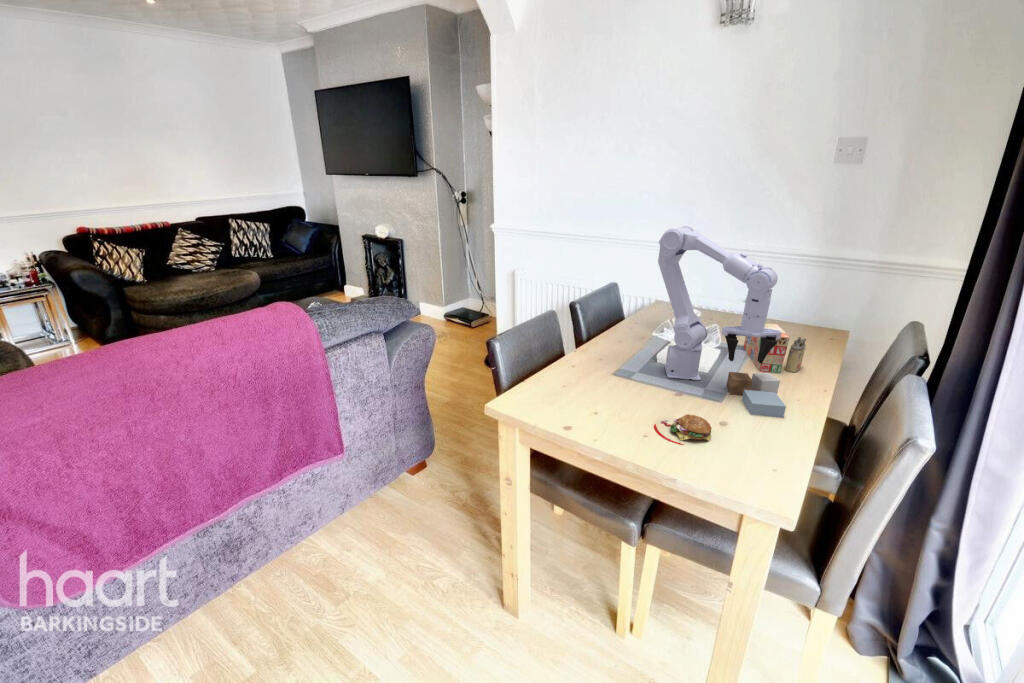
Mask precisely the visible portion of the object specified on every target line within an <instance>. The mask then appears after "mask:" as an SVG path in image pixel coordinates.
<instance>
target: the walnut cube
mask: <svg viewBox="0 0 1024 683" xmlns="http://www.w3.org/2000/svg"><path fill="white" fill-rule="evenodd" d="M725 384H726V385H725V388H726V387H727V388H726V390H727V389H728V390H727V392H728V395H730V396H734V397H735V396H737V397H742V396H743V392H744V390H751V386H752V377H751V376H750V375H749V373H747V372H736V371H728V375H727V379H726V383H725Z"/></svg>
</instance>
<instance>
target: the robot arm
mask: <svg viewBox="0 0 1024 683" xmlns="http://www.w3.org/2000/svg"><path fill="white" fill-rule="evenodd" d="M658 244H659V253H658V258H657V262H658V268H659V269H660V273H661V276H662V280H663V282H664V285H665V288H666V293H667V294H668V298H669V302H670V305H671V308H672V310H673V314H674V318H675V321H674V325H673V330H674V337H673V340H674V343H675V345H673V344H672V345H668V348H667V352H666V359H665V366H664V369H665V374H666V377H667V378H669V379H671V378H672V379H678V378H679V380H689V379H692V381H701V380H702V379H701V375H700V374H699V369H700V368H699V367H700V362H701V356H702V350H703V345H702V344H703V342H704V341H705V340H706V339H707V337H708V329H707V327H706V326H705V325H704V324H703V322H702V320H701V318H700V317H699V315H698V314H696V313H695V311H694V308H693V304H692V301H691V298H690V294H689V293H688V288H687V285H686V283H685V280H684V276H683V273H682V269H681V266H680V261H681V259H682V257H683V256H684V254H685V253H686V252H687V251H699V252H701V253H702V254H704V255H705V256H707V257H709V258H711V259H713V260H715V261H716V262H719V263H720V264H722V267H723V270H724V272H725V273H728V274H729V275H730V276H732V277H734V278H736V279H737V280H738V281H740V282H742V284H743V283H744V284H746V288H747V289H748V290H747V295H746V298H745V303H744V308H743V313H742V318H741V323H740V325H739V326H737V325H736V326H722V330H721V335H723V336H724V338H725V340H726V346H727V350H728V351H727V352H728V353H727V354H728V360H729V361H730V362H734V360H735V353H736V349H737V346H738V344H739V340H738V337H746V336H750V337H761V344H760V350H759V354H758V359H757V361H758V362H759V363H763V361H764V359H765V357H766V356H767V354H768V353H769V351H770V350H771V349H772V348H773V347H774V346H775V345H776V343H777V341H776V339H780V338H781V332H780V331H779V330H772V329H766V328H764V327H765V323H767V318H768V313H769V309H770V304H771V300H772V293H773V288H774V287H775V286H776V284H777V282H778V278H779V277H778V275H777V274H778V273H777V272H776V271H775V270H774V269H773V268H772V267H768V266H764V265H763V264H762V263H757V262H755V261H754V260H752V259H751V258H748V257H747V256H748V254H746V253H745V252H741V253H740V252H733V253H731V252H729V251H728V250H726V249H725V248H724V247H721V246H720V245H719V244H717V243H715V242H714V241H713V240H712V239H710V238H708V237H707V236H705V235H704V234H703V233H702V232H700V231H699V230H695V229H693V228H692V227H690V226H682V227H678V228H670V229H667V230H666V231H664V233H663V234H662V236H661V237H660V239H659V241H658Z"/></svg>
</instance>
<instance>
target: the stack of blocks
mask: <svg viewBox="0 0 1024 683" xmlns="http://www.w3.org/2000/svg"><path fill="white" fill-rule="evenodd" d="M764 328H766V329H772V330H779V331H780V332H781V338H780V339H776V341H777V343H776V345H775V346H774V347H773V348H772V349H771V350H770V351H769V353H768V354H767V356H766V357H765V359H764V361H763V363H759V362H758V361H757V359H758V354H759V350H760V344H761V337H750V336H744V337H745V338H744V343H743V348H744V350H745V352H746V353H747V355H748V356H749V358H750V359H751V361H752V362H753V363H754V365H755V367H756V369H757V370H758V372H759V373H770V374H773V373H774V374H781V372H782V369H783V366H784V360H785V356H786V355H787V354H786V353H787V351H788V344H789V341H790V336H789V335H788V334H787V332H786V331H784V329H783V328H781V327H780V326H779V324H777V323H767V322H766V323H765V327H764Z"/></svg>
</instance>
